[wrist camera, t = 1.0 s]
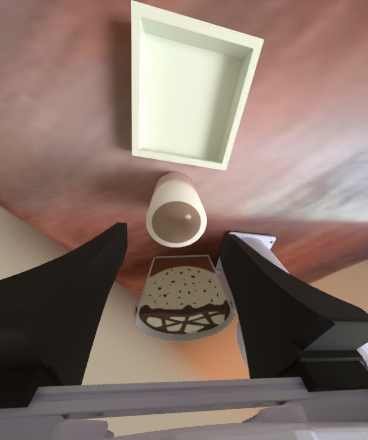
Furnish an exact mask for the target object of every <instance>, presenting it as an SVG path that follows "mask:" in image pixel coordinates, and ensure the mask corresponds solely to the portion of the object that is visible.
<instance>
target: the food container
mask: <svg viewBox="0 0 368 440" xmlns="http://www.w3.org/2000/svg"><path fill="white" fill-rule="evenodd" d="M234 311H235V305H234V299H233V298H232V300H231V302H230V301H229V299H228V297H227V295H226V292H225V290H224V288H223V286H222V283H221V281H220V279H219V277H218V274H217V272H216V270H215V268H214V265H213V263H212V261H211V259H210V256H209V255H185V256H160V257H153V260H152V264H151V267H150V270H149V273H148V277H147V280H146V283H145V287H144V290H143V293H142V297H141V300H140V304H139V306H138V309H137V307H136V304H134V317H135V324H136V326H137V327H138V328H139V329H140V330H141V331H142V332H143V333H145V334H146V335H148V336H151V337H153V338H156V339H159V340H164V341H171V342H186V341H193V340H199V339H203V338H206V337H209V336H212V335H214V334H216V333H218V332H220V331H222V330H223V329H224V328H226V327H227V326H228V325H229V324H230V323H231V322H232V320H233V319H234V316H235V314H234Z"/></svg>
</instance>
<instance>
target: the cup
mask: <svg viewBox="0 0 368 440" xmlns="http://www.w3.org/2000/svg"><path fill="white" fill-rule="evenodd" d="M206 224H207V218H206V214H205V211H204V209H203V206H202V204H201V201H200V199H199V196H198V194H197V191H196V189H195V186H194V184H193V182H192V180H191V179H190V178H189V177H188V176H187V175H185V174H183V173H180V172H170V173H167V174H165V175H163V176H162V177H161V178H160V179H159V180H158V182H157V184H156V187H155V191H154V194H153V197H152V200H151V203H150V206H149V209H148V213H147V216H146V227H147V230H148V232H149V234H150V235H151V237H152V238H153V239H154V240H155V241H157V242H158V243H160V244H162V245H165V246H168V247H183V246H187V245H190V244H192V243H194V242H195V241H196V240H198V239H199V238H200V237H201V235H202V234H203V233H204V231H205V228H206Z"/></svg>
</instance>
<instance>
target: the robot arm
mask: <svg viewBox="0 0 368 440" xmlns="http://www.w3.org/2000/svg"><path fill="white" fill-rule="evenodd" d="M275 240H276V238H275V237H274V236H268V235H259V234H249V233H240V232H229V233H228V234H226V237H225V240H224V242H223V245H222V248H221V250H220V253H219V256H220V257H219V259H218V262H217V265H216V267H215V270H216V272H217V274H218V275H219V276H220V279H221V282H222V285H223V288H224V290H225V292H226V295H227V297H228V299H229V301H230V302H231V300H232V298H233V299H234V305H235V311H234V313H235V315H236V316H238V318H239V322H238V325H237V338H238V344H239V348H240V351H241V354H242V356H243V359H244V361H245V363H246V365H247V367H248V369H249V374H250V379H237V380H236V379H235V380H210V381H182V382H158V383H157V382H156V383H129V384H103V385H81V384H82V380H83V377H84V373H85V369H86V366H87V362H88V359H89V355H90V351H91V348H92V345H93V341H94V338H95V334H96V331H97V328H98V325H99V322H100V319H101V315H102V312H103V309H104V306H105V303H106V300H107V297H108V294H109V292H110V289H111V287H112V285H113V283H114V280H115V278H116V276H117V274H118V271H119V269H120V267H121V265H122V262H123V260H124V257H125V254H126V250H127V247H128V245H127V223H119V222H117V223H116V224H114V225H113V226H111V227H110V228H109V229H107V230H106V231H104V232H103V233H101V234H100V235H98V236H97V237H95V238H94V239H92V240H90V241H89V242H87V243H85V244H84V245H82V246H80V247H78V248H77V249H75V250H73V251H71V252H69V253H67V254H65V255H63V256H61V257H59V258H56V259H54V260H52V261H49V262H47V263H45V264H42V265H40V266H38V267H35V268H33V269H30V270H27V271H25V272H22V273H19V274H16V275H13V276H11V277H8V278H5V279H2V280H0V440H368V314H367V313H366V312H365V311H364V310H362V309H361V308H359V307H357V306H354V305H352V304H350V303H347V302H345V301H343V300H340V299H338V298H336V297H333V296H331V295H329V294H327V293H325V292H323V291H321V290H319V289H318V288H315V287H313V286H311V285H309V284H307V283H305V282H303V281H301V280H299V279H298V278H296V277H294V276H292V275H291V274H289V272H288V271H287V270H286V269H285V268H284V266H283V265H282V264H281V263H280V261H279V260H278V259H277V258H276V257H275V255H274V254H273V253H272V252H271V251H270V248H271V247H272V245H273V243H274V241H275ZM270 241H271V242H270ZM272 406H274V407H272ZM256 407H270V408H266V409H261V410H260V411H259V413H258V414H257V415H255V416H253V417H252V418H249V419H247V420H245V421H243V422H242V423H231V424H218V425H205V426H195V427H186V428H177V429H169V430H161V431H154V432H146V433H139V434H132V435H126V436H118V437H114V434H113V432H111V431H109V430H107V427H108V423H107V421H98V420H83V419H90V418H105V417H121V416H136V415H150V414H165V413H181V412H195V411H210V410H226V409H240V408H241V409H242V408H256Z"/></svg>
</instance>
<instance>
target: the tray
mask: <svg viewBox="0 0 368 440" xmlns="http://www.w3.org/2000/svg"><path fill="white" fill-rule="evenodd" d="M131 39H132V155H133V156H140V157H146V158H152V159H158V160H164V161H171V162H177V163H183V164H189V165H195V166H201V167H208V168H214V169H220V170H226V168H227V165H228V161H229V158H230V155H231V151H232V148H233V144H234V141H235V137H236V134H237V130H238V127H239V124H240V120H241V117H242V113H243V110H244V106H245V103H246V100H247V96H248V93H249V89H250V86H251V82H252V79H253V75H254V72H255V69H256V65H257V62H258V58H259V55H260V51H261V48H262V45H263V41H264V39H260V38H257V37H254V36H250V35H247V34H244V33H240V32H237V31H233V30H230V29H227V28H223V27H220V26H217V25H213V24H210V23H207V22H203V21H200V20H196V19H193V18H190V17H186V16H183V15H180V14H176V13H173V12H170V11H166V10H163V9H159V8H156V7H153V6H149V5H146V4H143V3H139V2H136V1H132V0H131Z"/></svg>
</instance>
